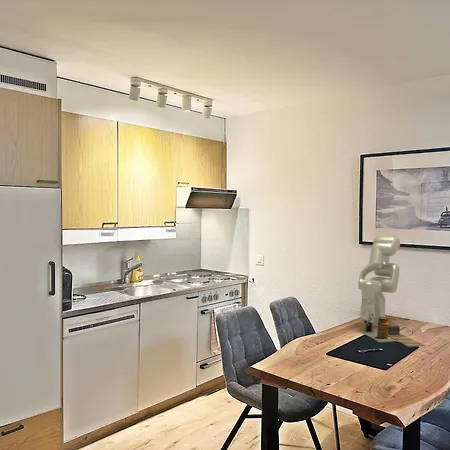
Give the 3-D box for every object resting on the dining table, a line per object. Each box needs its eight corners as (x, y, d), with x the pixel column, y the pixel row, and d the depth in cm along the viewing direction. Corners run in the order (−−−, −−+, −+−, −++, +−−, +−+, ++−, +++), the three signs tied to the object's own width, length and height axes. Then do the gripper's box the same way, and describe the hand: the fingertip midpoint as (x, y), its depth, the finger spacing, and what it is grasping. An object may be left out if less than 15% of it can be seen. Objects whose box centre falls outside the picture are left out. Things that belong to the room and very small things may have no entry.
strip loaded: (359, 331, 278) (359, 322, 278) (373, 330, 280) (373, 321, 280) (379, 342, 254) (379, 333, 254) (395, 341, 256) (395, 332, 256)
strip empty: (384, 334, 270) (385, 325, 270) (399, 334, 272) (399, 325, 271) (408, 347, 246) (408, 337, 246) (424, 345, 248) (424, 336, 248)
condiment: (391, 338, 261) (391, 318, 261) (384, 341, 256) (384, 320, 255) (379, 335, 267) (379, 315, 266) (372, 338, 261) (372, 318, 260)
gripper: (356, 299, 284) (355, 327, 285) (369, 304, 268) (368, 334, 269) (366, 298, 285) (366, 326, 286) (380, 304, 269) (380, 333, 270)
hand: (367, 330), depth 277 cm, fingers closed on strip loaded, 3 cm apart
